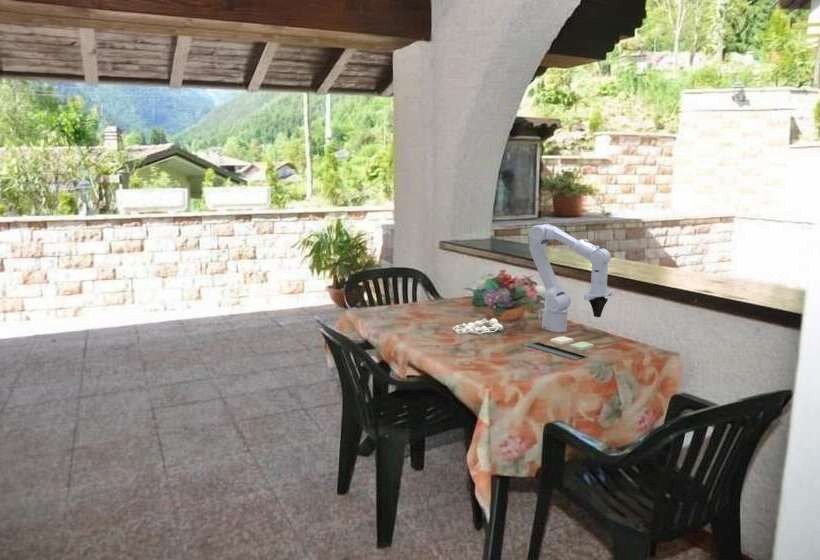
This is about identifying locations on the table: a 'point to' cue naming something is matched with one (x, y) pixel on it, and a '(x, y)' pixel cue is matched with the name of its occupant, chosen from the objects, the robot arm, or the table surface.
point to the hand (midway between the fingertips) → (597, 316)
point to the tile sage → (581, 345)
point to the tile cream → (561, 340)
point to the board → (591, 339)
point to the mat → (556, 351)
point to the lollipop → (541, 293)
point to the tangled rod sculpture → (477, 324)
